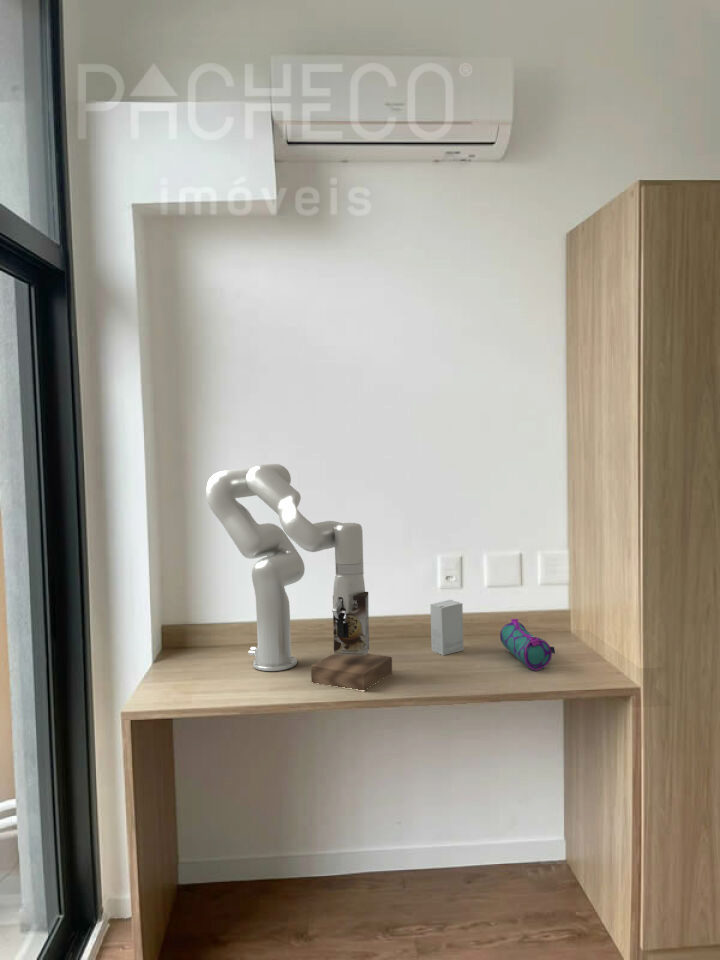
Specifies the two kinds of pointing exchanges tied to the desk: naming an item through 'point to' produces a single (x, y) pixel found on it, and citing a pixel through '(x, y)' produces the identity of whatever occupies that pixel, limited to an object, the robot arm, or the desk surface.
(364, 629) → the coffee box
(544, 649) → the pencil case
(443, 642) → the skincare box
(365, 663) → the walnut block
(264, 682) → the desk surface
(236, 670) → the desk surface
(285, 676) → the desk surface
